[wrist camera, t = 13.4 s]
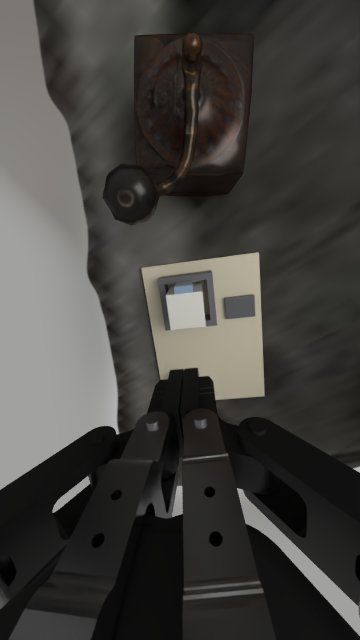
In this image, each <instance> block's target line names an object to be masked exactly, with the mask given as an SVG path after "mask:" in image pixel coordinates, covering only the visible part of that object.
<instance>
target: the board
mask: <svg viewBox="0 0 360 640" xmlns="http://www.w3.org/2000/svg"><path fill="white" fill-rule="evenodd" d="M141 269H142V275H143V281H144V287H145V293H146V298H147V304H148V310H149V316H150V321H151V327H152V333H153V339H154V345H155V350H156V356H157V362H158V368H159V373H160V379H161V380H165V379H168V377H169V372H170V370H175V369H186V368H198V371H199V377H201V376H209V377H210V378H211V379H212V380H213V383H214V392H215V400H220V399H233V398H247V397H260V396H265V395H264V370H263V345H262V319H261V294H260V269H259V252H256V253H248V254H241V255H233V256H226V257H218V258H211V259H203V260H196V261H188V262H181V263H173V264H165V265H158V266H150V267H143V268H141ZM186 281H193V282H200V281H201V286H202V292H203V302H204V312H205V322H206V327H196V328H187V329H177V330H171V329H170V322H169V315H168V308H167V301H166V294H167V293H168V291H169V289H170V288H171V286H172V285H175V284H176V283H178V282H186Z"/></svg>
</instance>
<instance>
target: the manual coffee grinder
mask: <svg viewBox="0 0 360 640" xmlns="http://www.w3.org/2000/svg"><path fill="white" fill-rule="evenodd" d="M253 48H254V34H240V33H218V34H197V33H196V32H189V33H188V34H156V35H137V36H135V37H134V112H135V150H136V161H137V165H128V164H120V165H119V166H118V167H116V168H115V169H113V170H112V171H111V172H109V173H108V175H107V177H106V183H105V188H104V191H103V199H104V200H105V202H106V203H107V205H108V207H109V208H110V210H111V212H112V214H113V216H114V218H115V219H116V220H119V221H121V222H124V223H126V224H129V225H135V224H138V223H142V222H145V221H147V220H148V219H149V218H150V217H151V216H152V215H153V214H154V212H155V209H156V206H157V203H158V200H159V197H160V196H162V195H170V196H211V195H218V194H227V193H230V191H231V190H232V188H233V187H234V186H235V184H236V183H237V181H238V180H239V179H240V177H241V176H242V174H243V171H244V162H245V153H246V144H247V133H248V123H249V113H250V103H251V92H252V70H253Z"/></svg>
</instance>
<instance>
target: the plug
mask: <svg viewBox="0 0 360 640" xmlns="http://www.w3.org/2000/svg"><path fill="white" fill-rule="evenodd" d="M166 301H167V308H168V315H169V322H170V329H171V330H177V329H187V328H196V327H206V322H205V312H204V302H203V292H202V286H201V281H200V282H193V281H186V282H178V283H176V284H175V285H172V286H171V288H170V289H169V291H168V293H167V294H166Z"/></svg>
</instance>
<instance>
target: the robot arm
mask: <svg viewBox="0 0 360 640" xmlns="http://www.w3.org/2000/svg"><path fill="white" fill-rule="evenodd" d="M179 457H184V458H183V459H182V486H183V514H182V515H178V516H175V517H172V512H173V506H174V500H175V493H176V488H177V482H178V475H179V472H178V463H179ZM87 476H88V477H89V480H90V483H91V484H89V485H88V486H87V487H86V488H85V489H83V490H82V491H81V492H80V493H78V494H77V495H76V496H75V497H74V498H73V499H71V500H70V501H69V502H68V503H66V504H65V505H64V506H63V507H62V508H60V509H59V510H58V511H56V512H55V513H52V510H53V507H54V505H55V503H56V502H57V500H58V499H59V498H60V497H61V496H63V495H64V494H65V493H67V492H68V491H69V490H70V489H72V488H73V487H74V486H75V485H77V484H78V483H79V482H81V481H82V480H83V479H84V478H86V477H87ZM237 488H239V489H243V491H244V494H245V496H246V497H247V498H248V499H249V500H250V501H251V502H252V503H253V504H254V505H255V506H256V507H257V508H258V509H259V510H260V511H261V512H262V513H263V514H264V515H265V516H266V517H267V518H268V519H269V520H270V521H271V522H272V523H273V524H274V525H275V526H276V527H277V528H278V529H279V530H280V531H281V532H282V533H283V534H285V535H286V536H287V537H288V538H289V539H290V540H291V541H292V542H293V543H294V544H295V545H296V546H297V547H298V548H299V549H300V550H301V551H302V552H303V553H304V554H305V555H306V556H307V557H308V558H309V559H310V560H311V561H312V562H313V563H314V564H316V566H317V567H318V568H319V569H321V570H322V571H323V572H324V573H325V574H326V575H327V576H328V577H329V578H330V579H331V580H332V581H333V582H334V583H335V584H336V585H337V586H338V587H339V588H340V589H341V590H342V591H343V592H344V593H345V594H346V595H347V596H348V597H349V598H350V599H351V600H352V601H353V602H354V603H356V604H357V605H358V606H359V616H360V473H359V472H357V471H356V470H354V469H352V468H350V467H349V466H347V465H345V464H344V463H342V462H340V461H338V460H337V459H335V458H333V457H331V456H330V455H328V454H326V453H325V452H323V451H321V450H319V449H318V448H316V447H314V446H312V445H311V444H309V443H307V442H306V441H304V440H302V439H300V438H299V437H297V436H295V435H294V434H292V433H290V432H288V431H287V430H285V429H283V428H281V427H280V426H278V425H276V424H275V423H273V422H271V421H269V420H267V419H265V418H260V417H251V418H247V419H245V420H243V421H242V422H241V423H240V424H239V426H237V425H232V424H228V423H226V422H224V421H223V420H221V419H220V418H219V416H218V414H217V408H216V400H215V392H214V383H213V380H212V379H211V378H210V377H209V376H201V377H199V371H198V368H186V369H175V370H170V372H169V377H168V379H165V380H160V381H159V382H158V383H157V385H156V386H155V389H154V393H153V395H152V399H151V402H150V405H149V408H148V412H147V414H145V415H143V416H142V417H141V418H140V419H139V420H138V421H137V423H136V425H135V427H134V429H133V430H131V431H128V432H124V433H121V434H118V435H116V431H115V429H114V428H112V427H110V426H102V427H98V428H95V429H93V430H91V431H89V432H88V433H86V434H85V435H83V436H82V437H80V438H79V439H77V440H76V441H74V442H73V443H71V444H70V445H68V446H67V447H65V448H63V449H62V450H60V451H59V452H57V453H56V454H54V455H53V456H51V457H50V458H48V459H47V460H45V461H44V462H42V463H41V464H39V465H38V466H36V467H34V468H33V469H31V470H30V471H29V472H27V473H25V474H24V475H22V476H21V477H19V478H18V479H16V480H15V481H13V482H12V483H10V484H9V485H7V486H6V487H4V488H3V489H1V490H0V640H360V636H359V635H358V634H357V633H356V632H355V631H354V630H353V629H352V627H351V626H350V625H349V624H348V623H347V622H346V621H345V620H344V618H343V617H342V616H341V615H340V614H339V613H338V612H337V611H336V610H335V609H334V608H333V606H332V605H331V604H330V603H329V602H328V601H327V600H326V599H325V598H324V597H323V595H322V594H320V592H319V591H318V590H317V589H316V588H315V587H314V586H313V584H312V583H311V582H310V581H309V580H308V579H307V578H306V577H305V576H304V574H303V573H302V572H301V571H300V570H299V569H298V568H297V567H296V566H295V565H294V563H292V561H291V560H290V559H289V558H288V557H287V556H286V555H285V553H284V552H282V550H281V549H280V548H279V547H278V546H277V545H276V544H275V543H274V542H273V541H272V540H270V539H269V538H268V537H267V536H266V535H264V534H263V533H261V532H260V531H259V530H257V529H255V528H253V527H252V526H249V525H247V524H245V520H244V516H243V512H242V508H241V503H240V500H239V495H238V491H237Z"/></svg>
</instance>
